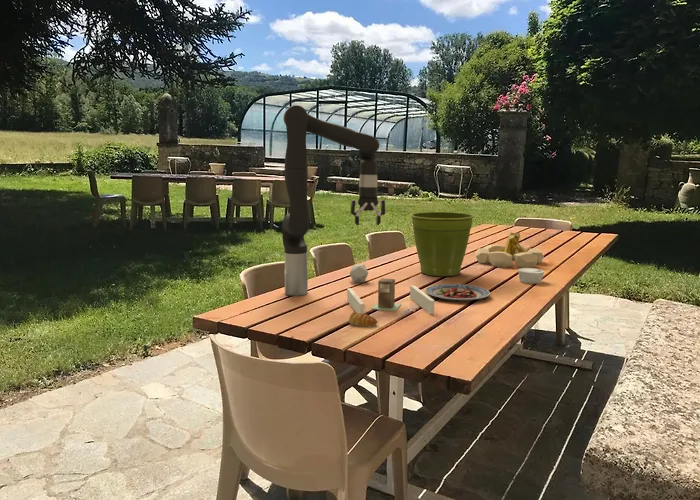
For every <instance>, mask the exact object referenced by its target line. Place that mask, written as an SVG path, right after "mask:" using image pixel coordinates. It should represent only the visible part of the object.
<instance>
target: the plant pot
mask: <svg viewBox="0 0 700 500" xmlns="http://www.w3.org/2000/svg"><path fill="white" fill-rule="evenodd" d="M410 217H411V220H412V228H413V236H414V241H415V247H416V251H417V253H416V254H417V257H418V260H419V264H420V272H421V273H422V274H424V275H426V276H432V277H454V276H458V275H459V274H461V269H462V265H463V261H464V257H465V255H466V250H467V248H468V244H469V243H468V242H469V239H470V234H471V229H472V224H473V219H474V215H473V214H471V213H465V212H453V211H452V212H451V211H427V212H426V211H425V212H415V213H411V214H410Z"/></svg>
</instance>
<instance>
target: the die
mask: <svg viewBox="0 0 700 500" xmlns="http://www.w3.org/2000/svg"><path fill="white" fill-rule="evenodd" d="M368 274H369V271H368V269H367V268H366V265H365V264H353V265H352V267H351V269H350V272H349V275H350V278H351V280H352V282H353V283H366V280H367V277H368Z"/></svg>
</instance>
